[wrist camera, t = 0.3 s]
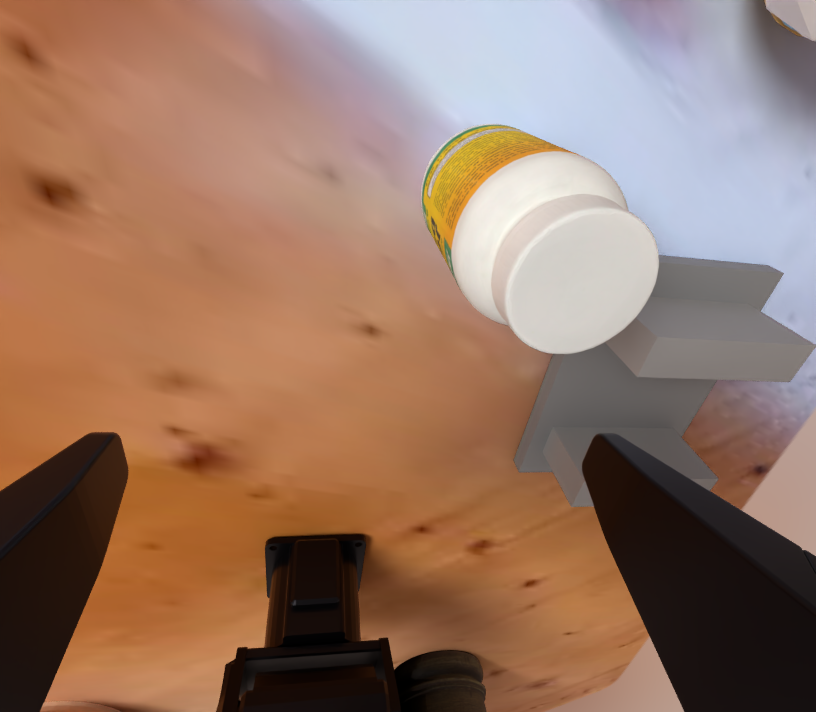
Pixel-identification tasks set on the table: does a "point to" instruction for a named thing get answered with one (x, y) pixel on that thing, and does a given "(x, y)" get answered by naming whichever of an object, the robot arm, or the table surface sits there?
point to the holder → (661, 371)
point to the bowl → (75, 707)
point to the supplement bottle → (538, 238)
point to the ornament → (795, 16)
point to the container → (441, 683)
